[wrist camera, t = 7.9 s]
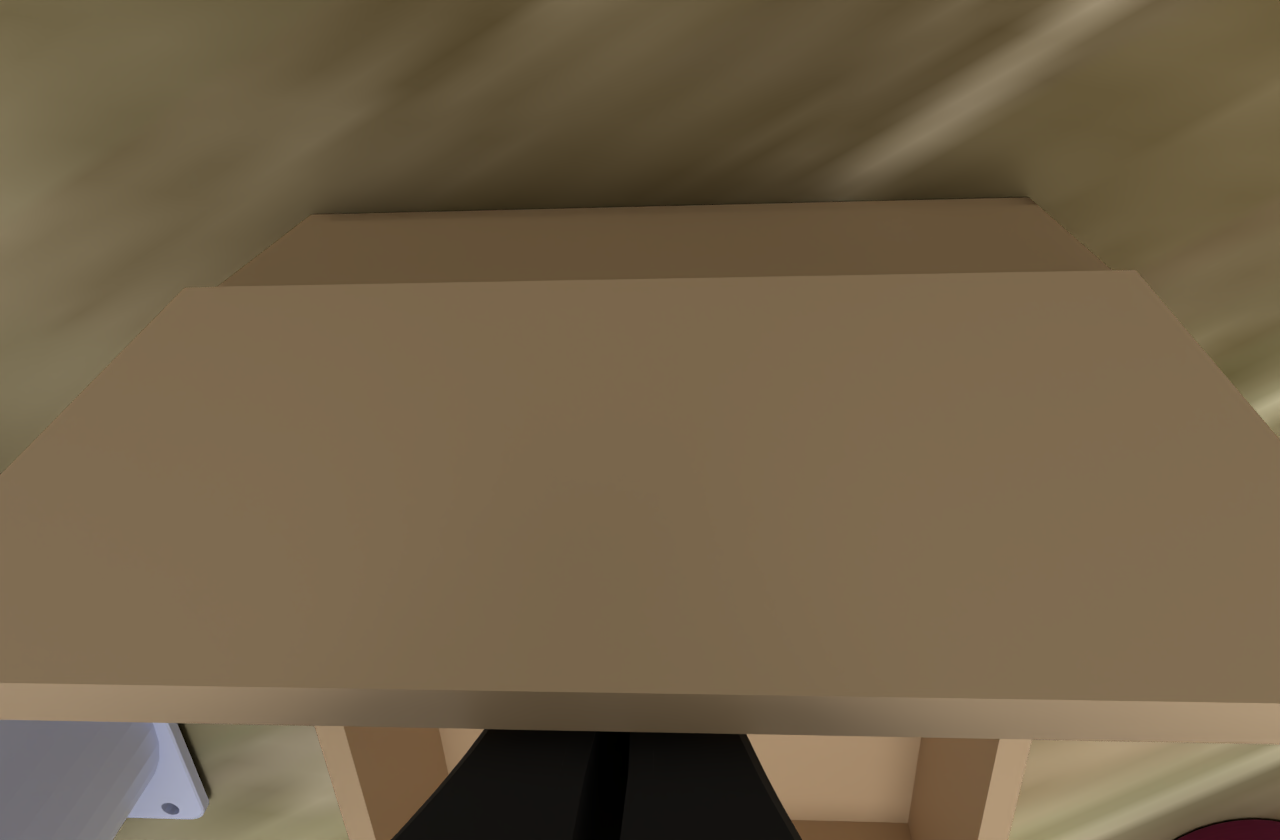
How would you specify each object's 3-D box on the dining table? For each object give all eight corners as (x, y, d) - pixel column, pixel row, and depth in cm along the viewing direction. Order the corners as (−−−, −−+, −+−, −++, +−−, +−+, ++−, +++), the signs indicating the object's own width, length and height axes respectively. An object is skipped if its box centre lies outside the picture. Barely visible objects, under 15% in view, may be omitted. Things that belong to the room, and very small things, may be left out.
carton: (443, 809, 27) (392, 982, 23) (311, 214, 18) (187, 309, 14) (923, 821, 26) (967, 1005, 22) (1029, 197, 17) (1139, 294, 13)
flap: (-168, 717, 8) (-202, 679, 8) (196, 317, 14) (184, 287, 13) (1471, 747, 7) (1507, 707, 7) (1126, 302, 13) (1136, 269, 12)
